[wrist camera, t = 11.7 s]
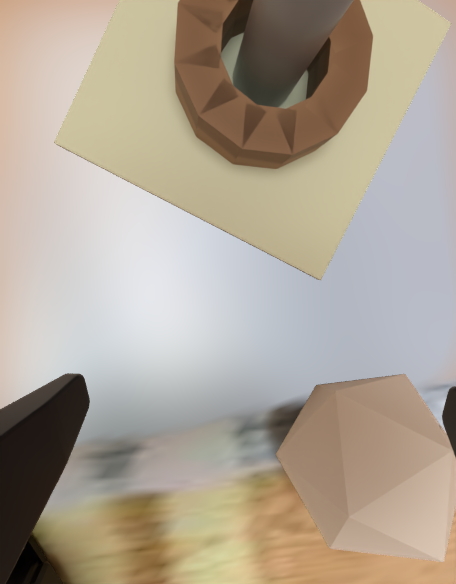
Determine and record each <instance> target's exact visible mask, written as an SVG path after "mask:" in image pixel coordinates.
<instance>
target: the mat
mask: <svg viewBox="0 0 456 584" xmlns="http://www.w3.org/2000/svg"><path fill="white" fill-rule="evenodd" d="M360 1H361V4H362V6H363V9H364V12H365V15H366V17H367V20H368V23H369V26H370V28H371V31H372V34H373V43H372V52H371V61H370V70H369V79H368V87H367V92H366V93H365V95H364V96H363V98H362V99H361V100H360V102H359V103H358V105H357V106H356V108H355V109H354V111H353V112H352V114H351V115H350V117H349V118H348V120H347V121H346V122H345V124H344V125H343V127H342V128H341V130H340V131H339V133H338V134H337V135H335V136H334V137H333V138H331V139H330V140H329V141H327V142H326V143H325V144H323V145H322V146H321V147H320V148H318V149H317V150H316V151H314V152H312V153H310V154H308V155H305V156H303V157H301V158H299V159H297V160H295V161H293V162H291V163H288V164H286V165H284V166H282V167H280V168H278V169H270V168H261V167H252V166H243V165H235V164H232V163H231V162H229V161H228V160H227V159H225V158H224V157H223V156H221V155H220V154H219V153H217V152H216V151H215V150H213V149H212V148H211V147H209V146H208V145H207V144H205V143H204V142H203V141H201V140H200V139H199V138H197V137H196V135H195V133H194V131H193V129H192V127H191V125H190V122H189V120H188V118H187V116H186V114H185V111H184V109H183V107H182V105H181V103H180V101H179V98H178V96H177V94H176V90H175V68H174V57H175V41H176V24H177V7H178V2H179V0H119V3H118V5H117V7H116V9H115V11H114V13H113V16H112V18H111V20H110V22H109V24H108V26H107V29H106V31H105V33H104V35H103V37H102V39H101V42H100V44H99V46H98V48H97V50H96V53H95V55H94V57H93V59H92V61H91V64H90V65H89V68H88V70H87V72H86V74H85V76H84V79H83V81H82V83H81V85H80V87H79V89H78V92H77V94H76V96H75V98H74V100H73V103H72V105H71V107H70V109H69V111H68V114H67V115H66V118H65V120H64V122H63V124H62V126H61V128H60V131H59V133H58V135H57V137H56V140H55V142H54V143H55V144H57V145H59V146H60V147H62V148H64V149H66V150H68V151H70V152H72V153H74V154H76V155H78V156H80V157H82V158H84V159H85V160H87V161H89V162H92V163H93V164H95V165H97V166H99V167H101V168H103V169H105V170H107V171H109V172H111V173H113V174H115V175H116V176H118V177H120V178H122V179H124V180H126V181H128V182H130V183H132V184H134V185H136V186H138V187H140V188H142V189H144V190H146V191H147V192H149V193H151V194H153V195H155V196H157V197H159V198H161V199H163V200H165V201H167V202H169V203H171V204H173V205H175V206H177V207H178V208H181V209H183V210H184V211H186V212H188V213H190V214H192V215H194V216H196V217H198V218H200V219H202V220H204V221H206V222H208V223H209V224H211V225H213V226H215V227H217V228H219V229H221V230H223V231H225V232H227V233H229V234H231V235H233V236H235V237H237V238H239V239H241V240H242V241H244V242H246V243H248V244H250V245H252V246H254V247H256V248H258V249H260V250H262V251H264V252H266V253H268V254H270V255H271V256H273V257H276V258H277V259H279V260H282V261H283V262H285V263H287V264H289V265H291V266H293V267H295V268H297V269H299V270H300V271H302V272H304V273H306V274H308V275H310V276H312V277H314V278H316V279H318V280H321V278H322V277H323V275H324V273H325V271H326V269H327V267H328V265H329V263H330V261H331V259H332V257H333V255H334V253H335V251H336V249H337V247H338V245H339V243H340V241H341V239H342V237H343V235H344V233H345V231H346V229H347V227H348V225H349V223H350V222H351V220H352V218H353V216H354V213H355V212H356V210H357V208H358V206H359V204H360V202H361V200H362V198H363V196H364V194H365V192H366V190H367V188H368V186H369V184H370V182H371V180H372V178H373V176H374V174H375V172H376V170H377V168H378V166H379V164H380V163H381V161H382V159H383V157H384V155H385V153H386V151H387V149H388V147H389V145H390V143H391V141H392V139H393V137H394V135H395V133H396V131H397V129H398V127H399V125H400V123H401V121H402V119H403V117H404V115H405V113H406V111H407V109H408V107H409V105H410V104H411V101H412V100H413V97H414V95H415V94H416V92H417V90H418V88H419V86H420V84H421V82H422V80H423V78H424V76H425V74H426V72H427V70H428V68H429V66H430V64H431V62H432V60H433V58H434V56H435V54H436V52H437V50H438V48H439V46H440V44H441V43H442V41H443V39H444V37H445V35H446V33H447V31H448V29H449V27H450V25H451V23H450V22H449V21H447V20H446V19H444V18H443V17H441V16H440V15H438V14H437V13H436V12H434V11H433V10H431V9H430V8H429V7H427V6H426V5H424V4H423V3H421V2H420V1H419V0H360ZM243 35H244V33H241V34H239V35H237V36H235V37H232V38H231V39H230V40H229V42H228V43H227V45H226V46H225V48H224V49H223V51H222V52H221V58H222V61H223V63H224V65H225V68H226V70H227V72H228V75H229V77H230V79H231V82H232V84H233V71H234V67H235V64H236V60H237V56H238V53H239V49H240V46H241V42H242V39H243ZM307 83H308V71H307V69H306V71H305V72H304V74H303V75H302V77H301V78H300V80H299V81H298V83H297V84H296V86H295V87H294V89H293V90H292V92H291V93H290V94H289V96H288V97H287V99H286V100H285V102H284V103H283V104H282V105H281V106H279V107H278V108H284V109H286V108H288V107H290V106H293V105H295V104H297V103H299V102H301V101H304V100H306V94H307Z"/></svg>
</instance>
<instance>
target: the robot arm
mask: <svg viewBox="0 0 456 584" xmlns="http://www.w3.org/2000/svg"><path fill="white" fill-rule="evenodd" d="M89 403H90V400H89V395H88V391H87V387H86V383H85V379H84V377H83V376H82V375H81V374H65V375H63V376H61V377H59V378H57V379H55V380H54V381H52V382H50V383H48V384H46V385H45V386H42V387H41V388H39V389H37V390H35V391H33V392H32V393H30V394H28V395H26V396H24V397H22V398H20V399H19V400H17V401H15V402H13V403H11V404H9V405H8V406H6V407H4V408H2V409H0V584H63V582H62V581H61V579H60V578H59V576H58V575H57V573H56V572H55V570H54V569H53V567H52V566H51V564H50V563H49V562H48V560H47V559H46V557H45V556H44V554H43V553H42V551H41V550H40V548H39V546H38V545H37V543H36V542H35V540H34V539H33V537H32V536H31V533H32V531H33V529H34V527H35V525H36V523H37V521H38V519H39V517H40V515H41V513H42V512H43V510H44V508H45V506H46V504H47V502H48V500H49V498H50V496H51V494H52V492H53V490H54V488H55V486H56V484H57V482H58V480H59V478H60V476H61V474H62V472H63V470H64V468H65V466H66V464H67V462H68V459H69V457H70V455H71V452H72V450H73V447H74V445H75V442H76V439H77V437H78V434H79V432H80V429H81V427H82V424H83V421H84V419H85V416H86V413H87V411H88V408H89ZM442 419H443V424H444V427H445V430H446V433H447V435H448V438H449V441H450V444H451V447H452V449H453V452H454V455H455V458H456V387H455V386H454V387H451V388H450V389H449V392H448V395H447V399H446V402H445V406H444V410H443V415H442Z"/></svg>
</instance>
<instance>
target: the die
mask: <svg viewBox="0 0 456 584" xmlns="http://www.w3.org/2000/svg"><path fill="white" fill-rule="evenodd" d="M276 456H277V458H278V460H279V461H280V463H281V465H282V466H283V468H284V470H285V472H286V473H287V475H288V477H289V479H290V480H291V482H292V484H293V486H294V487H295V489H296V491H297V493H298V494H299V496H300V498H301V500H302V501H303V503H304V505H305V507H306V508H307V510H308V512H309V514H310V515H311V517H312V519H313V520H314V522H315V524H316V526H317V527H318V529H319V531H320V533H321V534H322V536H323V538H324V540H325V541H326V543H327V545H328V547H329V548H330V549H338V550H346V551H355V552H363V553H371V554H380V555H388V556H396V557H405V558H413V559H422V560H430V561H438V562H444V560H445V555H446V550H447V545H448V541H449V536H450V531H451V526H452V522H453V517H454V512H455V507H456V458H455V455H454V452H453V449H452V447H451V444H450V441H449V438H448V436H447V434H446V433H445V431H444V430H443V428H442V427H441V426H440V424H439V423H438V421H437V420H436V418H435V417H434V415H433V414H432V412H431V411H430V409H429V408H428V407H427V405H426V404H425V402H424V401H423V399H422V398H421V396H420V395H419V393H418V392H417V391H416V389H415V388H414V386H413V385H412V383H411V382H410V380H409V379H408V377H407V376H406V375H405V374H401V375H393V376H385V377H377V378H369V379H361V380H353V381H345V382H337V383H329V384H321V385H316V386H315V388H314V390H313V391H312V393H311V395H310V397H309V398H308V400H307V402H306V403H305V405H304V407H303V409H302V410H301V412H300V414H299V415H298V417H297V419H296V420H295V422H294V424H293V426H292V427H291V429H290V431H289V432H288V434H287V436H286V438H285V439H284V441H283V443H282V444H281V446H280V448H279V449H278V451H277V453H276Z"/></svg>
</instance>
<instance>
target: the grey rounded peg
mask: <svg viewBox="0 0 456 584" xmlns="http://www.w3.org/2000/svg"><path fill="white" fill-rule="evenodd" d="M352 2H353V0H253V3H252V7H251V10H250V14H249V17H248V21H247V24H246V28H245V32H244V35H243V39H242V42H241V46H240V49H239V53H238V56H237V60H236V64H235V67H234V71H233V86H234V87H236V88H237V89H238V90H239V91H241V92H242V93H243V94H244V95H246V96H247V97H248V98H249V99H251V100H252V101H253V102H254V103H256V104H257V105H262V106H270V107H277V108H278V107H279V106H281V105H282V104H283V103H284V102H285V100H286V99H287V97H288V96H289V94H290V93H291V92H292V90H293V89H294V87H295V86H296V84H297V83H298V81H299V80H300V78H301V77H302V75H303V74H304V72H305V71H306V69H307V68H308V67H309V65H310V64H311V62H312V61H313V59H314V58H315V56H316V55H317V53H318V52H319V50H320V49H321V47H322V46H323V45H324V43H325V42H326V40H327V39H328V37H329V36H330V34H331V33H332V31H333V30H334V28H335V27H336V25H337V24H338V23H339V21H340V20H341V18H342V17H343V15H344V14H345V12H346V11H347V9H348V8H349V6H350V5H351V3H352Z"/></svg>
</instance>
